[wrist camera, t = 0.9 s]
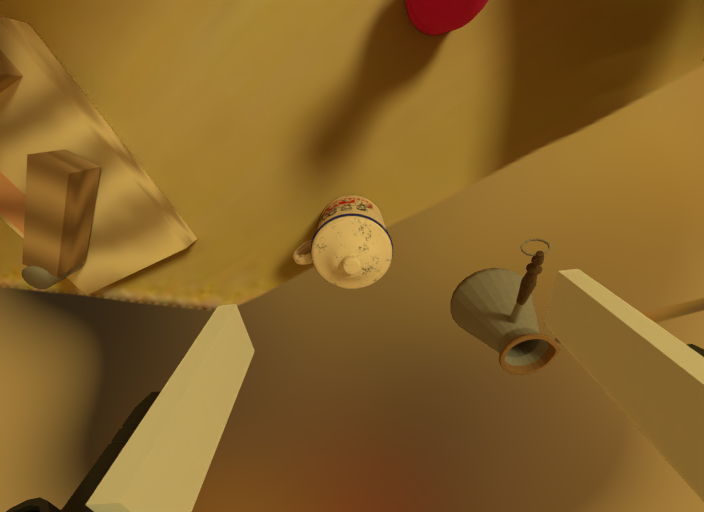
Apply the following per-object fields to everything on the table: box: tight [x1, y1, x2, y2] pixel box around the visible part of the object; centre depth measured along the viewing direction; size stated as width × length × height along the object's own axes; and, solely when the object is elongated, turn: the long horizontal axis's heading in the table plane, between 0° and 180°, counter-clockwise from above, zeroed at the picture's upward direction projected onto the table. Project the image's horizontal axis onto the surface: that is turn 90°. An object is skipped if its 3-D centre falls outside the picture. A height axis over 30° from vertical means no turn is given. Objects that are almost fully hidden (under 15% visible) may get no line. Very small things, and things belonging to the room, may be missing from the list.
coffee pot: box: [451, 239, 560, 375], centre depth 34 cm, size 21×12×15 cm, turn 17°
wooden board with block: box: [0, 16, 198, 295], centre depth 32 cm, size 26×18×7 cm
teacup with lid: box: [293, 195, 393, 289], centre depth 33 cm, size 12×9×12 cm
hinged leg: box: [22, 149, 101, 289], centre depth 32 cm, size 16×4×4 cm, turn 150°
